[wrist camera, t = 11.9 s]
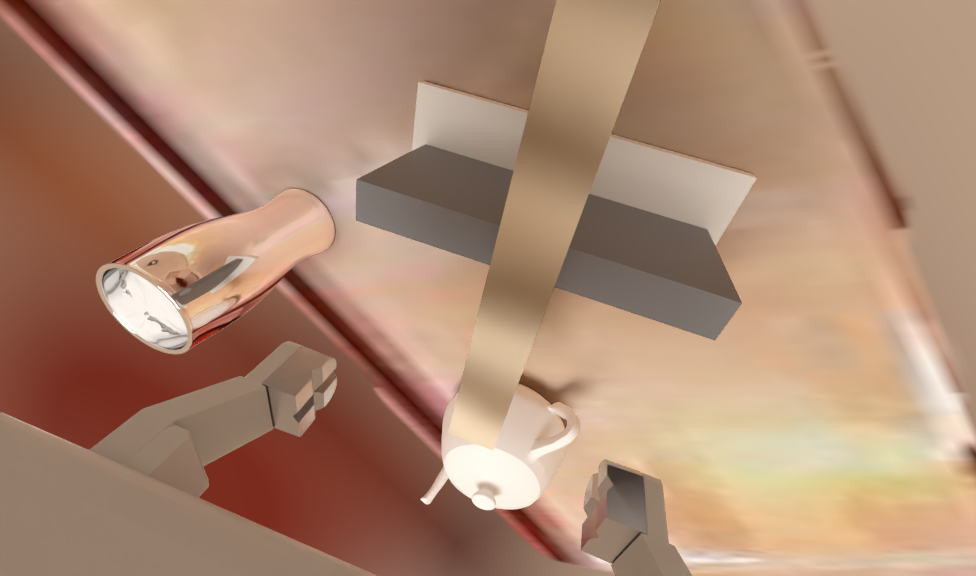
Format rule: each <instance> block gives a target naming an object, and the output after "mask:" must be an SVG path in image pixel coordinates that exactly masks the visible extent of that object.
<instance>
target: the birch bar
mask: <svg viewBox="0 0 976 576" xmlns="http://www.w3.org/2000/svg"><path fill="white" fill-rule="evenodd" d="M660 2H661V0H556V3H555V7H554V11H553V15H552V19H551V23H550V27H549V31H548V35H547V39H546V43H545V47H544V51H543V55H542V59H541V63H540V67H539V71H538V75H537V79H536V83H535V87H534V91H533V95H532V99H531V103H530V107H529V111H528V115H527V119H526V123H525V127H524V131H523V135H522V139H521V143H520V147H519V151H518V155H517V159H516V163H515V167H514V171H513V175H512V179H511V183H510V187H509V191H508V195H507V199H506V203H505V207H504V211H503V215H502V219H501V223H500V227H499V231H498V235H497V239H496V244H495V248H494V252H493V256H492V260H491V264H490V268H489V272H488V276H487V280H486V284H485V288H484V292H483V296H482V300H481V304H480V308H479V312H478V316H477V320H476V324H475V328H474V332H473V336H472V340H471V344H470V348H469V352H468V356H467V360H466V364H465V368H464V372H463V376H462V380H461V384H460V388H459V392H458V396H457V400H456V404H455V408H454V412H453V416H452V420H451V424H450V428H449V432H448V433H450V434H452V435H455V436H457V437H460V438H462V439H465V440H467V441H470V442H472V443H475V444H478V445H480V446H483V447H485V448H488V449H490V450H494V447H495V445H496V442H497V439H498V437H499V434H500V431H501V429H502V426H503V423H504V421H505V418H506V415H507V413H508V410H509V407H510V404H511V402H512V399H513V396H514V394H515V391H516V388H517V386H518V383H519V380H520V378H521V375H522V372H523V370H524V367H525V364H526V361H527V359H528V356H529V353H530V351H531V348H532V345H533V343H534V340H535V337H536V335H537V332H538V329H539V327H540V324H541V321H542V318H543V316H544V313H545V310H546V308H547V305H548V302H549V300H550V297H551V294H552V292H553V289H554V286H555V284H556V281H557V278H558V276H559V273H560V270H561V267H562V265H563V262H564V259H565V257H566V254H567V251H568V249H569V246H570V243H571V241H572V238H573V235H574V233H575V230H576V227H577V224H578V222H579V219H580V216H581V214H582V211H583V208H584V206H585V203H586V200H587V198H588V195H589V192H590V190H591V187H592V184H593V182H594V179H595V176H596V173H597V171H598V168H599V165H600V163H601V160H602V157H603V155H604V152H605V149H606V147H607V144H608V141H609V139H610V136H611V133H612V130H613V128H614V125H615V122H616V120H617V117H618V114H619V112H620V109H621V106H622V104H623V101H624V98H625V96H626V93H627V90H628V87H629V85H630V82H631V79H632V77H633V74H634V71H635V69H636V66H637V63H638V61H639V58H640V55H641V53H642V50H643V47H644V45H645V42H646V39H647V36H648V34H649V31H650V28H651V26H652V23H653V20H654V18H655V15H656V12H657V10H658V7H659V4H660Z"/></svg>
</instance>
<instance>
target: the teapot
mask: <svg viewBox="0 0 976 576" xmlns="http://www.w3.org/2000/svg"><path fill="white" fill-rule="evenodd" d="M457 396H458V393H457V394H456V395H455V396H454V397H453V398H452V399H451V401H450V402H449V404H448V406H447V408H446V410H445V414H444V418H443V426H442V458H443V464H444V467H443V468H442V470H441V471H440V473H439V475H438V477H437V478H436V480H435V482H434V484H433V485H432V487H431V489H430V490H429V491H428V492H427V493H426V495H425V496H424V497H422V498H421V500H422V501H423V502H424V503H425V504H430V503H431V501H432V500H433V498H434V497H435V495H436V494H437V493H438V491H439V490H440V489H441V488H442V486H443V485H444V484H445V482H446V481H447V480H448V478H449V480H450V481H451V483H452V484H453V485H454V486H455V487H456V488H457V489H458V490H459V491H461V492H462V493H463V494H465V495H466V496H468V497H470V498H471V499H472V502H473V503H474V504H475V505H476V506H477V507H479V508H481V509H484V510H492V509H494V508H499V509H520V508H524V507H527V506H529V505H531V504H532V503H534V502H535V501H536V500H537V499H538V498H539V497H540V496H541V495H542V494H543V493H544V492H545V490H546V489H547V488H548V486H549V485H550V483H551V481H552V480H553V478H554V476H555V474H556V473H557V471H558V469H559V467H560V465H561V463H562V461H563V458H564V456H565V453H566V449H567V444H569V443H570V442H572V441H573V440H574V439H575V438H576V436H577V435H578V433H579V429H580V421H579V418H578V416H577V415H576V413H575V412H574V411H573V410H572V409H571V408H570V407H569V406H567V405H565V404H563V403H560V402H557V403H554V404H552V405H551V404H550V403H549V402H548V401H547V400H545V399H544V398H543V397H542V396H541V395H539V394H538V393H537V392H535V391H534V390H532V389H531V388H529V387H527V386H525V385H522V384H519V383H518V386H517V388H516V391H515V394H514V396H513V399H512V402H511V404H510V407H509V410H508V413H507V415H506V418H505V421H504V423H503V426H502V429H501V431H500V434H499V437H498V439H497V442H496V445H495V447H494V450H490V449H488V448H485V447H483V446H480V445H478V444H475V443H472V442H470V441H467V440H465V439H462V438H460V437H457V436H455V435H452V434H450V433H448V432H449V428H450V424H451V420H452V416H453V412H454V408H455V404H456V400H457ZM560 417H561V418H563V419H566V420H567V426H566V428H564V424H563V422H562V420H561V418H560Z"/></svg>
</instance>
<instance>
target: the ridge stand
mask: <svg viewBox="0 0 976 576" xmlns="http://www.w3.org/2000/svg"><path fill="white" fill-rule="evenodd" d="M528 111H529V110H525V109H522V108H518V107H514V106H511V105H507V104H504V103H500V102H497V101H493V100H490V99H486V98H483V97H479V96H475V95H472V94H468V93H465V92H461V91H458V90H454V89H451V88H447V87H444V86H440V85H436V84H433V83H429V82H426V81H422V82H418V90H417V100H416V110H415V121H414V131H413V142H412V151H411V152H409V153H407V154H405V155H403V156H401V157H400V158H398V159H396V160H394V161H392V162H390V163H388V164H386V165H384V166H382V167H380V168H378V169H376V170H374V171H372V172H370V173H368V174H366V175H364V176H362V177H360V178H358V179H357V184H356V221H359V222H362V223H365V224H368V225H371V226H374V227H377V228H380V229H383V230H386V231H389V232H392V233H395V234H398V235H401V236H404V237H407V238H410V239H413V240H416V241H419V242H422V243H425V244H428V245H431V246H434V247H437V248H440V249H443V250H446V251H449V252H452V253H455V254H458V255H461V256H464V257H467V258H470V259H473V260H476V261H479V262H482V263H485V264H488V265H490V264H491V260H492V256H493V252H494V248H495V244H496V239H497V235H498V231H499V227H500V223H501V219H502V215H503V211H504V207H505V203H506V199H507V195H508V191H509V187H510V183H511V179H512V175H513V171H514V167H515V163H516V159H517V155H518V151H519V147H520V143H521V139H522V135H523V131H524V127H525V123H526V119H527V115H528ZM756 179H757V178H756V177H755V176H754V175H753V174H752V173H748V172H745V171H741V170H738V169H734V168H731V167H727V166H724V165H720V164H717V163H713V162H709V161H706V160H702V159H699V158H695V157H692V156H688V155H685V154H681V153H678V152H674V151H670V150H667V149H663V148H660V147H656V146H653V145H649V144H646V143H642V142H639V141H635V140H631V139H628V138H624V137H621V136H617V135H614V134H611V136H610V139H609V141H608V144H607V147H606V149H605V152H604V155H603V157H602V160H601V163H600V165H599V168H598V171H597V173H596V176H595V179H594V182H593V184H592V187H591V190H590V192H589V195H588V198H587V200H586V203H585V206H584V208H583V211H582V214H581V216H580V219H579V222H578V224H577V227H576V230H575V233H574V235H573V238H572V241H571V243H570V246H569V249H568V251H567V254H566V257H565V259H564V262H563V265H562V267H561V270H560V273H559V276H558V278H557V281H556V284H555V286H554V287H557V288H560V289H563V290H566V291H569V292H572V293H575V294H578V295H581V296H584V297H587V298H590V299H593V300H596V301H599V302H602V303H605V304H608V305H611V306H614V307H617V308H620V309H623V310H626V311H629V312H632V313H635V314H638V315H641V316H644V317H647V318H650V319H653V320H656V321H659V322H662V323H664V324H667V325H670V326H673V327H676V328H679V329H682V330H685V331H688V332H691V333H694V334H697V335H700V336H703V337H706V338H709V339H712V340H716V338H717V337H718V335H719V334H720V333H721V331H722V330H723V329H724V327H725V326H726V324H727V323H728V322H729V320H730V319H731V317H732V316H733V315H734V313H735V312H736V311H737V309H738V308H739V306H740V305H741V304H742V302H741V300H740V298H739V296H738V294H737V291H736V289H735V287H734V285H733V283H732V281H731V279H730V276H729V274H728V272H727V270H726V268H725V266H724V264H723V262H722V259H721V257H720V255H719V253H718V251H717V249H716V247H715V246H716V244H717V243H718V241H719V239H720V238H721V236H722V235H723V233H724V231H725V230H726V228H727V226H728V225H729V223H730V221H731V220H732V218H733V217H734V215H735V213H736V212H737V210H738V208H739V207H740V205H741V203H742V202H743V200H744V199H745V197H746V195H747V194H748V192H749V190H750V189H751V187H752V185H753V184H754V182H755V181H756Z"/></svg>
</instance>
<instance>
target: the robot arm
mask: <svg viewBox="0 0 976 576" xmlns="http://www.w3.org/2000/svg"><path fill="white" fill-rule="evenodd" d="M335 368H336V359H333V358H331V357H329V356H326V355H323V354H321V353H319V352H316V351H313V350H311V349H309V348H306V347H304V346H301V345H299V344H296V343H293V342H291V341H287V342H285V343H283V344H281V345H280V346H279V347H278V348H277V349H276V350H275V351H274V352H272V353H271V354H270V355H269V356H268V357H267V358H266V359H265V360H264V361H262V362H261V363H260V364H259V365H258V366H257V367H256V368H255V369H254V370H252V371H251V372H250V373H249V374H248V375H247V376H246V377H245V378H244V377H241V376H239V377H236V378H233V379H230V380H227V381H224V382H221V383H218V384H215V385H212V386H209V387H206V388H203V389H200V390H197V391H195V392H191V393H188V394H186V395H183V396H180V397H177V398H174V399H171V400H168V401H165V402H162V403H159V404H156V405H153V406H150V407H147V408H144V409H142V410H141V411H139V412H138V413H136V414H135V415H134V416H133V417H131V418H130V419H129V420H127V421H126V422H125V423H124V424H122V425H121V426H120V427H118V428H117V429H116V430H114V431H113V432H112V433H111V434H109V435H108V436H107V437H105V438H104V439H103V440H102V441H100V442H99V443H98V444H96V445H95V446H94V447H92V448H91V449H90V450H87V449H85V448H83V447H80V446H78V445H76V444H74V443H71V442H69V441H67V440H64V439H62V438H60V437H57V436H55V435H53V434H50V433H48V432H46V431H44V430H41V429H39V428H36V427H34V426H32V425H30V424H27V423H25V422H23V421H20V420H18V419H16V418H14V417H11V416H9V415H7V414H4V413H2V412H0V576H376V575H374V574H372V573H369V572H367V571H365V570H363V569H360V568H358V567H356V566H353V565H351V564H349V563H347V562H344V561H342V560H340V559H337V558H335V557H333V556H331V555H328V554H326V553H324V552H321V551H319V550H317V549H314V548H312V547H310V546H308V545H305V544H303V543H301V542H298V541H296V540H294V539H291V538H289V537H287V536H285V535H282V534H280V533H277V532H275V531H273V530H271V529H269V528H266V527H264V526H262V525H259V524H257V523H255V522H252V521H250V520H248V519H245V518H243V517H241V516H239V515H236V514H234V513H232V512H229V511H227V510H225V509H223V508H220V507H218V506H216V505H213V504H211V503H209V502H207V501H204V500H202V499H200V498H199V497H200V495H201V494H202V493H203V492H204V491H205V490H206V489H207V488H208V485H209V480H208V478H207V475H206V473H205V470H204V468H203V466H205V465H207V464H209V463H211V462H212V461H214V460H216V459H218V458H220V457H222V456H224V455H226V454H228V453H229V452H231V451H233V450H235V449H237V448H239V447H241V446H242V445H244V444H246V443H248V442H250V441H252V440H254V439H256V438H258V437H259V436H261V435H263V434H265V433H267V432H269V431H271V430H273V427H274V428H277V429H280V430H282V431H285V432H288V433H290V434H293V435H296V436H299V437H301V436H302V434H303V433H304V432H305V431H306V429H307V428H308V427H309V426H310V424H311V423H312V422H313V421H314V419H315V411H316V410H319V409H320V408H323V407H325V406H326V404H327V403H328V402H329V400H330V399H331V397H332V395H333V393H334V391H335V388H336V384H337V377H336V376H335V374H334V373H333V371H334V369H335ZM584 510H585V512H586V514H587V516H588V517H587V519H586V520H585V522H584V523H583V524H582V538H581V550H582V551H584V552H586V553H589V554H591V555H593V556H595V557H598V558H600V559H602V560H605V561H607V562H609V563H612V565H611V566H612V569H613V571H614V574H615V576H692V575H691V573H690V571H689V570H688V568H687V566H686V564H685V563H684V561H683V559H682V558H681V556H680V554H679V553H678V551H677V549H676V548H675V546H673V545H671V544H669V540H668V531H667V521H666V512H665V502H664V493H663V484H662V482H661V480H660V479H657V478H655V477H652V476H649V475H646V474H643V473H640V471H637V470H634V469H631V468H628V467H626V466H623V465H620V464H617V463H614V462H612V461H609V460H606V459H605V460H603V461H602V462H601V463H600V465H599V473H597V474H593V476H592V477H591V479H590V481H589V483H588V486H587V489H586V493H585V498H584Z"/></svg>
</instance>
